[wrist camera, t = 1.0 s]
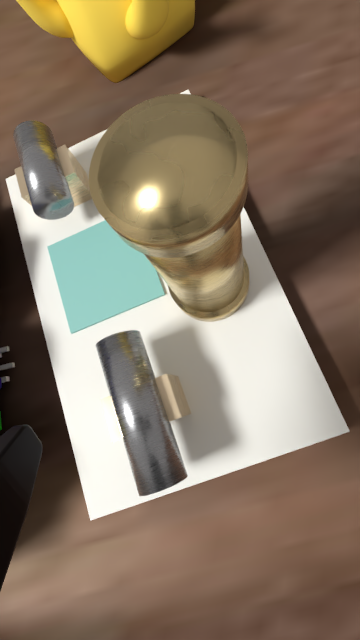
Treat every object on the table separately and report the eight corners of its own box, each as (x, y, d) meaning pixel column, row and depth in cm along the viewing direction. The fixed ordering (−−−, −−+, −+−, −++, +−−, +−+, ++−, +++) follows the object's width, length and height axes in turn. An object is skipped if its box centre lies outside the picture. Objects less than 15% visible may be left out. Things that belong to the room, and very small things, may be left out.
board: (343, 429, 20) (350, 431, 18) (99, 513, 21) (88, 521, 20) (190, 102, 26) (187, 87, 25) (15, 187, 28) (4, 177, 27)
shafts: (207, 460, 20) (196, 478, 15) (122, 490, 20) (90, 515, 16) (97, 145, 26) (68, 99, 22) (35, 175, 27) (-5, 136, 22)
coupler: (261, 303, 21) (275, 195, 9) (187, 333, 21) (113, 265, 10) (231, 236, 22) (210, 68, 11) (162, 266, 23) (71, 137, 11)
